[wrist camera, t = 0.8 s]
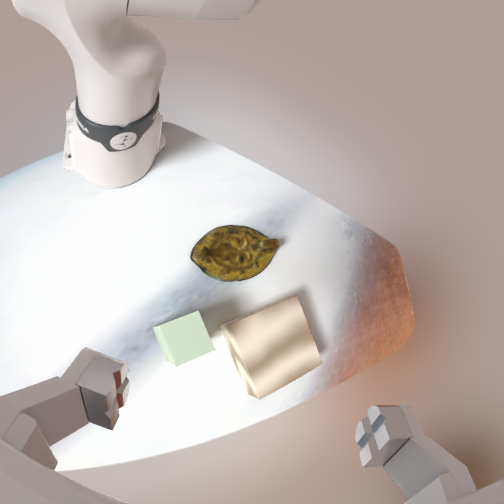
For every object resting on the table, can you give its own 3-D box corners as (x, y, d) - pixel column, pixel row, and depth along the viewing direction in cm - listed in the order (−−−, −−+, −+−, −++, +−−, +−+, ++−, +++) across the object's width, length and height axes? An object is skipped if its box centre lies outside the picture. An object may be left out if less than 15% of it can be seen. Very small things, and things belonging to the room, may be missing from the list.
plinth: (218, 325, 45) (229, 324, 40) (281, 299, 50) (297, 295, 46) (247, 393, 44) (260, 399, 39) (305, 361, 49) (322, 363, 45)
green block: (152, 327, 41) (159, 325, 32) (183, 315, 43) (198, 310, 34) (166, 359, 40) (176, 365, 31) (196, 346, 42) (215, 349, 33)
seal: (195, 290, 46) (277, 272, 52) (202, 289, 42) (291, 269, 48) (183, 232, 47) (265, 220, 53) (190, 225, 42) (278, 213, 49)
